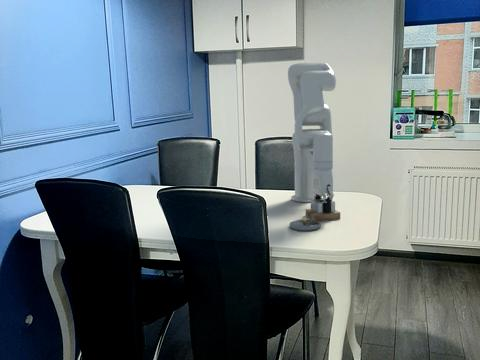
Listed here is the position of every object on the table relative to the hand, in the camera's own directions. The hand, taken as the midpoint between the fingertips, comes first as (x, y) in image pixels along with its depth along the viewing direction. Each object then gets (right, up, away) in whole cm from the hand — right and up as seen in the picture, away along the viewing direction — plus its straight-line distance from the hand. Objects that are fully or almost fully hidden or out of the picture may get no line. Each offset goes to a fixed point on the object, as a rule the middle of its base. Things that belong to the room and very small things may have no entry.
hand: (322, 210), depth 187 cm
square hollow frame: (0, 0, 0) cm, 0 cm away
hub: (-9, -6, -12) cm, 16 cm away
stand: (0, -3, +1) cm, 3 cm away
